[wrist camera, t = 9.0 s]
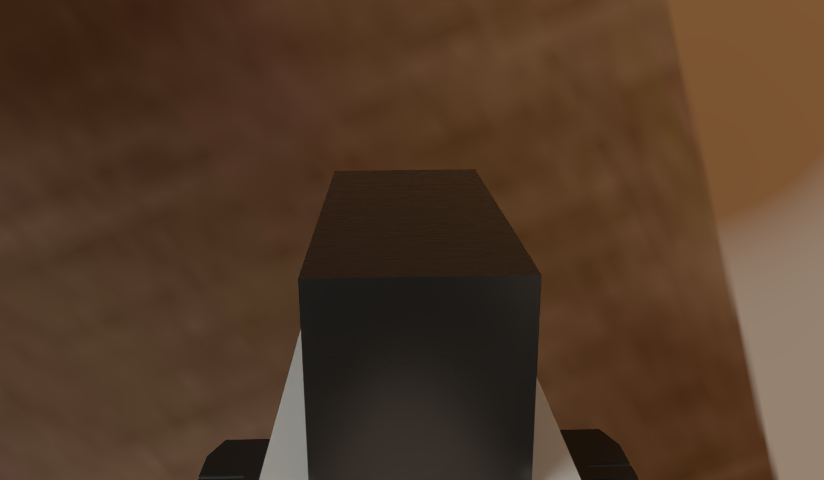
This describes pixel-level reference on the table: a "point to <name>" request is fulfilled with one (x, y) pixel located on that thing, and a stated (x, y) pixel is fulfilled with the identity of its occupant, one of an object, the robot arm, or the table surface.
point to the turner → (418, 332)
